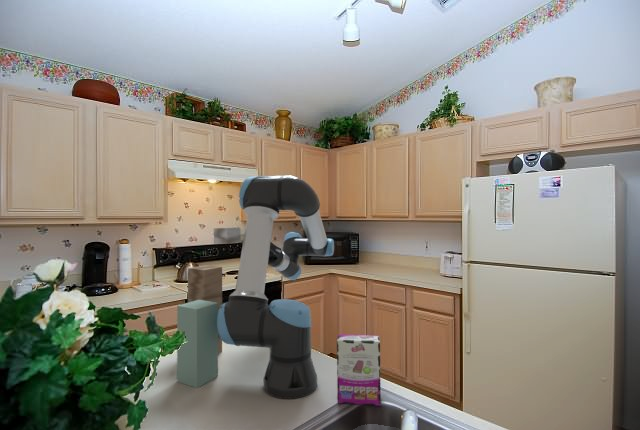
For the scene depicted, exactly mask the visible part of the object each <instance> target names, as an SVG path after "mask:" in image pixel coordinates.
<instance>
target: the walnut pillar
mask: <svg viewBox="0 0 640 430" xmlns="http://www.w3.org/2000/svg"><path fill="white" fill-rule="evenodd" d="M196 300H204V301H210V302H216V303H218V311H219V309H220V307H221V305H222V304H223V266H219V265H218V266H217V265H200V266H193V267H188V268H187V303H189V302H192V301H196ZM222 352H223V341H222V340H221V338H220V336H219V333H218V355H219V354H221V353H222Z"/></svg>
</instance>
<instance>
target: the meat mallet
mask: <svg viewBox="0 0 640 430" xmlns="http://www.w3.org/2000/svg"><path fill="white" fill-rule="evenodd" d="M240 229H241V227H239V228H237V227H217V228H215V227H214V228H213V244H214V245H218V244H220V245H226V244H227V245H228V244H239V243H240V244H242V243H241V242H243V240H244V235H240Z"/></svg>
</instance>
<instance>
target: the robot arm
mask: <svg viewBox="0 0 640 430" xmlns="http://www.w3.org/2000/svg"><path fill="white" fill-rule="evenodd" d="M238 198H239V199H238V201H239V206H240V208H241V210H243V211H242V212H243V214H244V216H246V223H245V227H244V229H241V228H240V227H239V226H237V227H236V228H240V235H244V240H243V242H241V243H240V244H241V245H242V248H241V254H240V259H239V266H238V270H237V271H238V272H237V278H236V283H235V284H236V286H235V290H234V291H233V292H231V293H230V295H229V296H228V299H227V300H228V301H226V302H223V303H222V305H221V307H220V309H219V311H218V316H217V329H218V333H219V336H220V338H221V340H222V343H224V344H226V345H232V346H233V345H234V346H236V347H255V348H256V347H257V348H268V349H269V360H268V364H267V367H266V370H265V373H264V377H263V389H264V391H265V392H266V393H267V394H268V395H270V396H272V397H275V398H279V399H286V400H287V399H289V400H290V399H296V398H297V399H299V398H302V397H305V396H307V395H310V394H311V393H313V392H314V391H315V390H316V388H317V386H318V375H317V372H316V369H315V366H314V362H313V358H312V324H313V323H312V317H311V308H310V307H309V306H308V305H307V304H305V303H303V302H301V301H298V300H294V299H287V298H284V299H280V298H279V299H274V300H272V301H271V302H270V303H269V304H268V302H269V298H267V296H266V295H265V288H266V287H265V286H266V280H267V272H268V266H270V267H271V268H273V270H275V272H276V273H279V274H281V275H282V277H284V278H286V279H287V280H289V281H295V280H297V279H298V278H299V277H300V276H301V274H302V267H301V265H300V264H299V260H300V257H302V256H304V257H305V256H306V257H307V256H311V257H332V256H333V255H334V252H335V240H334V239H333V238H328V237H327V234H326V230H325V226H324V223H323V220H322V217H321V213H320V208H321V207H320V206H321V203H320V199H319V197H318V194H317V193H316V191H315V190H314V188H313V187H312V186H311V185H310V184H309V183H307V182H306V181H305V180H304V179H302V178H300V177H299V176H295V175H290V174H285V175H255V176H248V177H246V178H245V179H244V180H243V181H242V183H241V186H240V188H239V194H238ZM280 211H293V212H294V214H295V215H296V216H298V217H299V220H300V223H301V225H302V227H303V231H304V232H305V236H306V238H305V237H303V236H302V235H301V234H300V233H298V232H294V231H290V232H288V233H286V234H285V235H284V239H283V243H282V248H281V247H279V246H277V245H276V244H274V243H273V242H272V234H273V229H274V228H273V226H274V221H276V220H277V219H278V218H279V216H280Z"/></svg>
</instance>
